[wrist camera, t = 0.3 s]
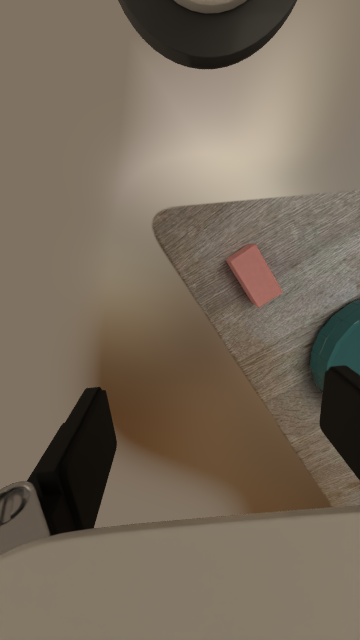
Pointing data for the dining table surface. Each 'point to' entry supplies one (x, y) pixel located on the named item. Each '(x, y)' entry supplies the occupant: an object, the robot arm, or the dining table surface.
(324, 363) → the bowl
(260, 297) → the eraser
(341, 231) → the dining table surface
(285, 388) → the dining table surface
